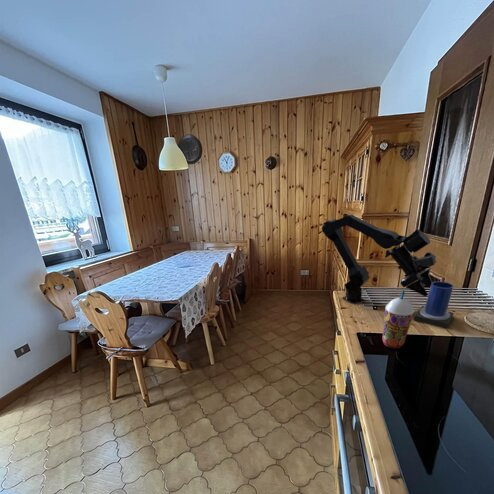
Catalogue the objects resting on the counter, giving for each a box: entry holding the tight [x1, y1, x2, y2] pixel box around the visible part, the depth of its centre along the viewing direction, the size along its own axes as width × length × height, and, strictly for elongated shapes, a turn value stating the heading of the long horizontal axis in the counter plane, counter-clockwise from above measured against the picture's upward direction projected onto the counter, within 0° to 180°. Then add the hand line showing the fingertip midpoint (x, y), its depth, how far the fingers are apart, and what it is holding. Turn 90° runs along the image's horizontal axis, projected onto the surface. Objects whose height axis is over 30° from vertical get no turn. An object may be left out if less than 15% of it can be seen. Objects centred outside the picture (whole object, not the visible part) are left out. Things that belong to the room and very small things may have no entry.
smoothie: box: [381, 289, 415, 349], centre depth 93 cm, size 8×8×20 cm
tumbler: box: [424, 280, 455, 316], centre depth 108 cm, size 7×7×12 cm
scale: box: [413, 305, 455, 329], centre depth 111 cm, size 11×11×3 cm
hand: (429, 291), depth 109 cm, fingers open, 9 cm apart
